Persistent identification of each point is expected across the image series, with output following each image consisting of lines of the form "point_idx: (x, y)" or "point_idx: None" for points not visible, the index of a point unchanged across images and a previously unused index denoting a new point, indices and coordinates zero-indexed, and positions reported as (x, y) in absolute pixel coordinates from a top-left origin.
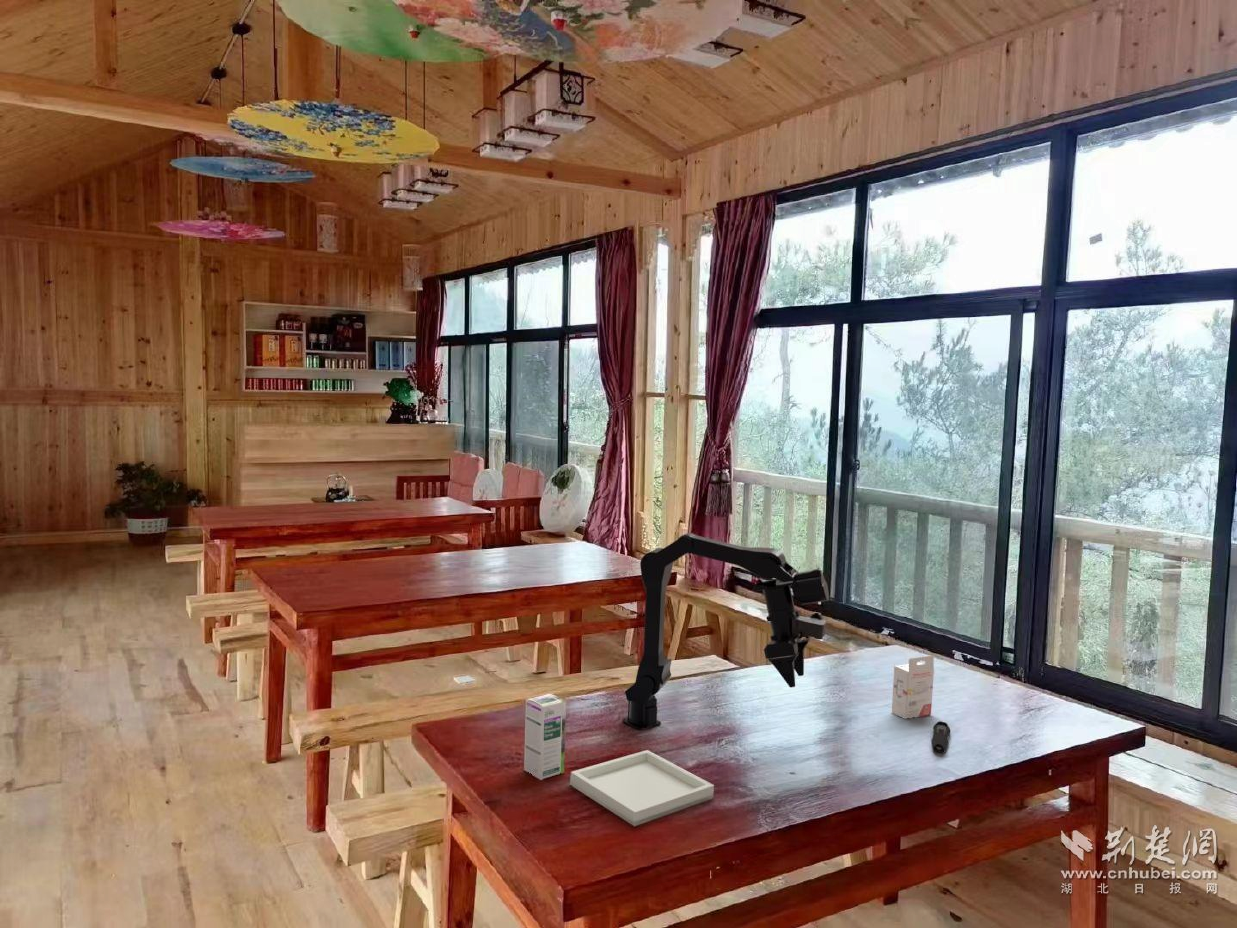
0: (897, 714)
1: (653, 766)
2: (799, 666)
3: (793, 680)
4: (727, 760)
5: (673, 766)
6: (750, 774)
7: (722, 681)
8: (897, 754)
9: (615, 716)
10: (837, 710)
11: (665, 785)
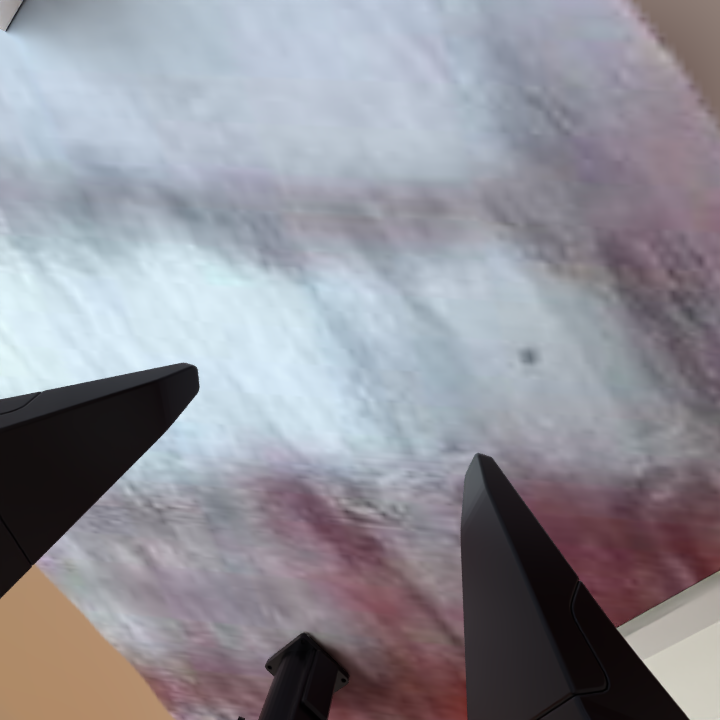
0: (13, 9)
1: None
2: (144, 410)
3: (519, 500)
4: None
5: None
6: (559, 464)
7: None
8: (317, 20)
9: None
10: (56, 204)
11: (695, 670)
